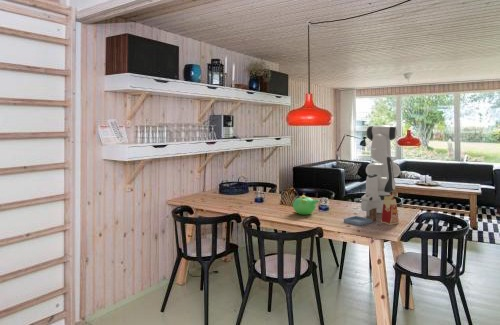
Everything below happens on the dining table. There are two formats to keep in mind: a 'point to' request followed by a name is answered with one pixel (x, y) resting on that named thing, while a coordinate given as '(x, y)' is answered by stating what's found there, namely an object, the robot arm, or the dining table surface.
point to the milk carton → (389, 211)
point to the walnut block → (372, 214)
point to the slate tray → (358, 220)
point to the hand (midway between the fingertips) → (371, 215)
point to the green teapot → (304, 205)
